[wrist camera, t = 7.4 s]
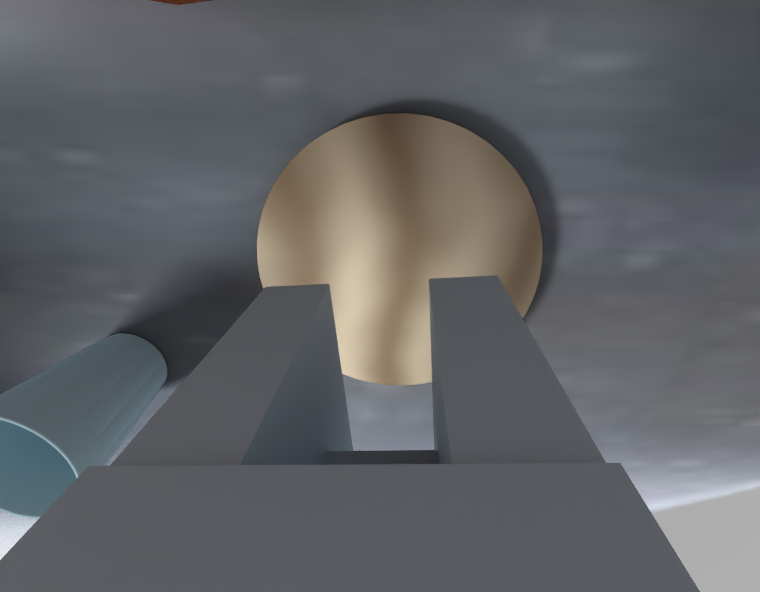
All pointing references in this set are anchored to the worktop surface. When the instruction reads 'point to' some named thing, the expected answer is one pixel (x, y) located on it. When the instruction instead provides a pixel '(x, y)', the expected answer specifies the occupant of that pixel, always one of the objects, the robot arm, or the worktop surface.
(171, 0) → the pumpkin
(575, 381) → the worktop surface
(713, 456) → the worktop surface
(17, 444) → the cup
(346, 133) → the wooden disc
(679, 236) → the worktop surface
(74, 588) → the grey slotted block
